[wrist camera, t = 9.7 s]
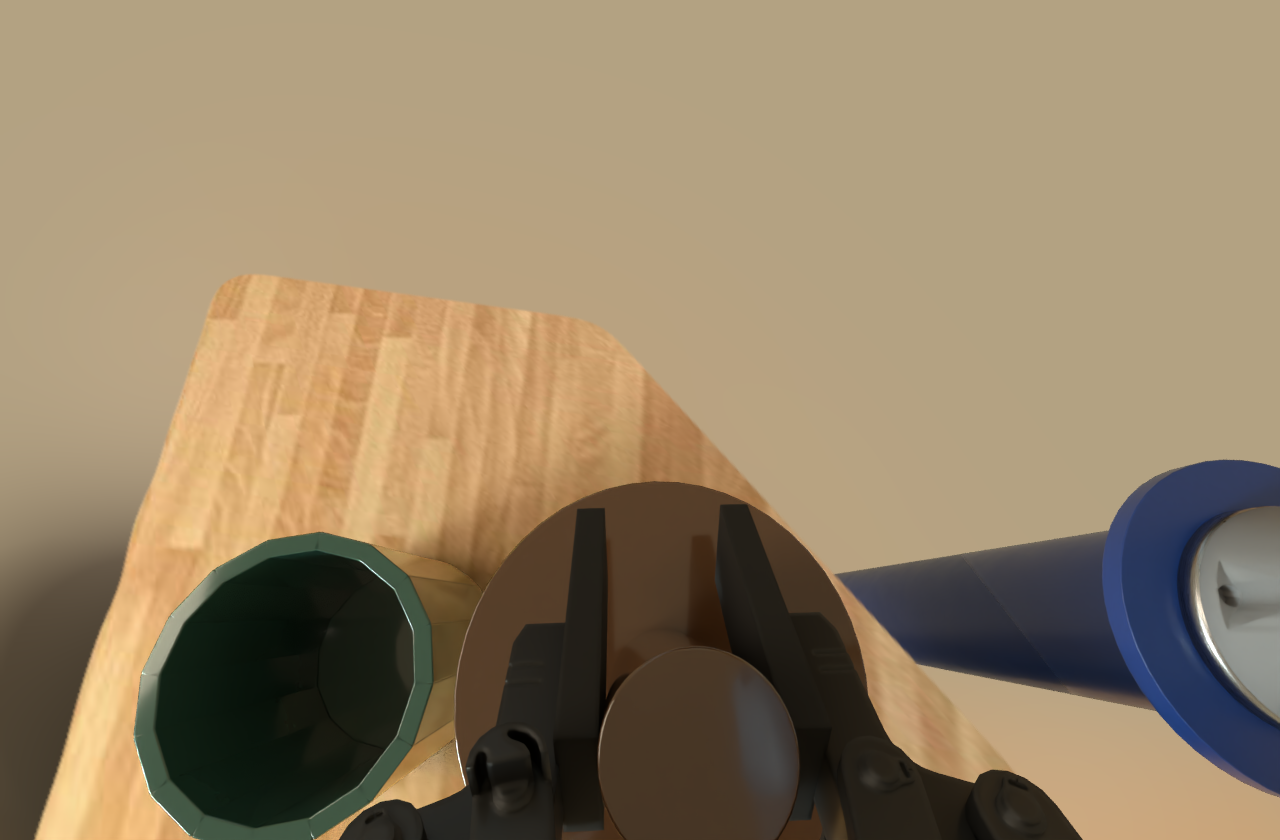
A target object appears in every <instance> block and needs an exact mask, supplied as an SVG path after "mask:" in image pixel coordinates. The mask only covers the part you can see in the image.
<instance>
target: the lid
mask: <svg viewBox="0 0 1280 840" xmlns="http://www.w3.org/2000/svg"><path fill="white" fill-rule="evenodd" d="M723 504H747V505H748V507H749V510H750V513H751V515H752V518H753V520H754V523H755V526H756V528H757V531H758V533H759V536H760V539H761V541H762V544H763V547H764V549H765V552H766V554H767V557H768V560H769V562H770V565H771V568H772V570H773V573H774V575H775V578H776V581H777V583H778V586H779V589H780V591H781V594H782V596H783V599H784V602H785V604H786V607H787V609H788V612H789V613H808V612H820V613H821V614H822V615H823V616H824V617H825V618H826V619H827V620H828V621H829V622H830V623H831V624H832V625H833V626H834V627H835V628H836V629H837V630H838V633H839V635H840V637H841V639H842V641H843V643H844V645H845V647H846V652H847V653H848V654H849V656H850V658H851V660H852V662H853V664H854V669H855V670H856V671H857V673H858V675H859V677H860V679H861V681H862V684H863V686H864V688H865V690H866V692H867V694H868V691H867V681H866V673H865V669H864V664H863V659H862V655H861V650H860V646H859V643H858V640H857V637H856V634H855V631H854V628H853V625H852V622H851V619H850V617H849V615H848V613H847V611H846V609H845V607H844V605H843V602H842V600H841V598H840V596H839V594H838V592H837V591H836V589H835V588H834V586H833V584H832V583H831V581H830V580H829V578H828V576H827V575H826V573H825V571H824V570H823V569H822V568H821V566H820V565H819V564H818V563H817V561H816V560H815V559H814V558H813V556H812V555H811V554H810V552H809V551H808V550H807V549H806V548H805V547H804V546H803V545H802V544H801V543H800V542H799V541H798V540H797V539H796V538H795V537H794V536H793V535H792V534H791V533H790V532H789V531H787V530H786V529H785V528H784V527H782V526H781V525H780V524H779V523H777V522H776V521H775V520H773V519H772V518H771V517H770V516H768V515H766V514H765V513H763V512H761V511H760V510H758V509H756V508H755V507H753V506H751V505H750V504H748V503H746V502H744V501H741V500H739V499H737V498H735V497H732V496H730V495H728V494H726V493H723V492H719V491H716V490H713V489H709V488H706V487H703V486H697V485H691V484H685V483H679V482H656V481H654V482H643V483H632V484H627V485H622V486H618V487H613V488H609V489H605V490H602V491H600V492H597V493H594V494H591V495H589V496H586V497H583V498H581V499H580V500H578V501H576V502H574V503H572V504H570V505H568V506H566V507H564V508H562V509H561V510H559V511H558V512H556V513H555V514H553V515H552V516H550V517H549V518H547V519H546V520H545V521H543V522H542V523H540V524H539V525H538V526H537V527H536V528H535V529H534V530H532V531H531V532H530V533H529V534H528V535H527V536H526V537H525V538H523V539H522V540H521V541H520V543H519V544H518V545H517V546H516V547H515V548H514V549H513V550H512V552H511V553H510V554H509V555H508V556H507V557H506V558H505V560H504V561H503V562H502V564H501V565H500V567H499V568H498V570H497V571H496V573H495V574H494V575H493V577H492V578H491V580H490V581H489V583H488V585H487V587H486V588H485V590H484V592H483V594H482V596H481V598H480V600H479V602H478V604H477V606H476V608H475V610H474V613H473V616H472V618H471V621H470V623H469V626H468V629H467V631H466V634H465V638H464V642H463V646H462V650H461V654H460V658H459V662H458V668H457V676H456V684H455V691H454V728H455V737H456V746H457V755H458V759H459V763H460V767H461V772H462V776H463V780H464V784H465V787H466V786H467V785H469V782H468V777H467V773H466V769H465V767H466V763H467V759H468V756H469V752H470V751H471V749H472V748H473V746H474V745H475V743H476V742H477V740H478V739H479V738H480V737H481V736H482V735H484V734H485V733H486V732H487V731H489V730H490V729H491V728H493V727H495V726H496V722H497V718H498V713H499V708H500V703H501V698H502V694H503V689H504V685H505V679H506V675H507V670H508V668H509V660H510V655H511V651H512V646H513V642H514V641H515V639H516V638H517V636H518V635H519V634H520V632H521V631H522V629H523V628H524V626H525V625H526V624H540V623H565V619H566V610H567V601H568V591H569V582H570V572H571V563H572V554H573V544H574V535H575V526H576V516H577V509H585V508H605V524H606V549H607V574H608V610H607V673H606V703H605V708H604V713H603V718H602V723H601V727H600V733H599V739H598V745H597V774H598V781H599V787H600V792H601V795H602V799H603V802H604V830H599V831H579V832H564V831H563V829H562V840H820V838H821V834H822V830H823V828H822V825H821V822H820V818H819V815H818V812H817V809H816V806H815V805H814V809H813V813H812V818H811V820H799V821H789V819H790V817H791V814H792V812H793V809H794V806H795V802H796V799H797V794H798V789H799V783H800V751H799V745H798V739H797V735H796V731H795V728H794V724H793V721H792V719H791V716H790V714H789V711H788V709H787V707H786V705H785V704H784V702H783V700H782V698H781V696H780V695H779V693H778V692H777V691H776V689H775V688H774V686H773V685H772V684H771V683H770V682H769V681H768V679H767V678H766V677H765V676H764V675H763V674H762V673H761V672H760V671H758V670H757V669H756V668H755V667H754V666H752V665H751V664H750V663H748V662H746V661H745V660H743V659H742V658H740V657H738V656H736V655H734V654H732V651H731V647H730V643H729V639H728V634H727V630H726V626H725V622H724V617H723V613H722V609H721V605H720V600H719V596H718V592H717V588H716V583H715V569H716V555H717V541H718V527H719V513H720V505H723Z"/></svg>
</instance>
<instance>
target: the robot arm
mask: <svg viewBox="0 0 1280 840" xmlns="http://www.w3.org/2000/svg"><path fill="white" fill-rule="evenodd" d="M715 583H716V588H717V592H718V596H719V600H720V605H721V609H722V613H723V617H724V622H725V626H726V630H727V634H728V639H729V643H730V647H731V651H732V654H734V655H736V656H738V657H740V658H742V659H743V660H745V661H746V662H748V663H750V664H751V665H752V666H754V667H755V668H756V669H757V670H758V671H760V672H761V673H762V674H763V675H764V676H765V677H766V678H767V679H768V681H769V682H770V683H771V684H772V685H773V686H774V688H775V689H776V691H777V692H778V693H779V695H780V696H781V698H782V700H783V702H784V704H785V705H786V707H787V709H788V711H789V714H790V716H791V719H792V721H793V724H794V728H795V731H796V735H797V739H798V745H799V751H800V783H799V789H798V794H797V799H796V802H795V806H794V809H793V812H792V814H791V817H790V819H789V821H799V820H811V818H812V813H813V809H814V805H815V806H816V809H817V812H818V815H819V818H820V822H821V825H822V828H823V830H822V834H821V838H820V840H1082V838H1081V837H1080V836H1079V834H1078V833H1077V832H1076V830H1075V829H1074V828H1073V826H1072V825H1071V824H1070V822H1069V821H1068V820H1067V818H1066V817H1065V816H1064V815H1063V813H1062V812H1061V810H1060V809H1059V808H1058V806H1057V805H1056V804H1055V803H1054V802H1053V801H1052V800H1051V799H1050V798H1049V797H1048V796H1047V795H1046V794H1045V792H1044V791H1043V790H1041V789H1040V788H1039V787H1037V786H1035V785H1034V784H1033V783H1031V782H1030V781H1028V780H1027V779H1025V778H1024V777H1021V776H1019V775H1016V774H1014V773H1011V772H1009V771H1002V770H990V771H987V772H985V773H982V774H980V775H979V777H978V779H977V780H976V782H975V783H971V782H968V781H964V780H961V779H957V778H953V777H950V776H946V775H943V774H939V773H936V772H933V771H930V770H928V769H925V768H923V767H921V766H919V765H918V764H916V763H914V762H913V761H912V760H911V759H910V758H909V757H908V756H907V755H906V754H905V753H904V752H903V751H902V750H901V749H900V748H899V747H897V746H895V745H894V744H893V743H892V742H891V740H890V739H889V737H888V735H887V734H886V732H885V730H884V728H883V726H882V724H881V722H880V720H879V718H878V715H877V713H876V711H875V709H874V707H873V705H872V703H871V701H870V698H869V696H868V694H867V692H866V690H865V688H864V686H863V684H862V681H861V679H860V677H859V675H858V673H857V671H856V670H855V669H854V664H853V662H852V660H851V658H850V656H849V654H848V653H847V652H846V647H845V645H844V643H843V641H842V639H841V637H840V635H839V633H838V630H837V629H836V628H835V627H834V626H833V625H832V624H831V623H830V622H829V621H828V620H827V619H826V618H825V617H824V616H823V615H822V614H821V613H820V612H808V613H789V612H788V609H787V607H786V604H785V602H784V599H783V596H782V594H781V591H780V589H779V586H778V583H777V581H776V578H775V575H774V573H773V570H772V568H771V565H770V562H769V560H768V557H767V554H766V552H765V549H764V547H763V544H762V541H761V539H760V536H759V533H758V531H757V528H756V526H755V523H754V520H753V518H752V515H751V513H750V510H749V507H748V505H747V504H723V505H720V513H719V527H718V541H717V555H716V569H715ZM1177 590H1178V599H1179V605H1180V610H1181V614H1182V617H1183V620H1184V623H1185V627H1186V629H1187V631H1188V634H1189V636H1190V639H1191V641H1192V643H1193V645H1194V647H1195V649H1196V650H1197V652H1198V654H1199V655H1200V657H1201V659H1202V660H1203V662H1204V663H1205V665H1206V666H1207V668H1208V669H1209V671H1210V672H1211V673H1212V674H1213V676H1214V677H1215V678H1216V679H1217V681H1218V682H1219V683H1220V684H1221V685H1222V686H1223V687H1224V688H1225V690H1226V691H1227V692H1228V693H1229V694H1230V695H1231V696H1232V697H1233V698H1235V699H1236V700H1237V701H1238V702H1239V703H1240V704H1241V705H1242V706H1244V707H1245V708H1246V709H1247V710H1249V711H1250V712H1251V713H1253V714H1254V715H1256V716H1257V717H1258V718H1260V719H1261V720H1263V721H1265V722H1266V723H1268V724H1270V725H1271V726H1273V727H1275V728H1277V729H1279V730H1280V506H1264V507H1255V508H1249V509H1243V510H1236V511H1231V512H1227V513H1223V514H1221V515H1218V516H1216V517H1214V518H1212V519H1210V520H1208V521H1207V522H1205V523H1204V524H1202V525H1201V526H1200V527H1199V528H1198V529H1197V530H1196V531H1195V532H1194V533H1193V535H1192V536H1191V537H1190V539H1189V540H1188V542H1187V544H1186V545H1185V548H1184V550H1183V552H1182V555H1181V558H1180V562H1179V567H1178V576H1177ZM607 610H608V574H607V549H606V524H605V508H585V509H577V516H576V526H575V535H574V544H573V554H572V563H571V572H570V582H569V591H568V601H567V610H566V619H565V623H540V624H526V625H525V626H524V628H523V629H522V631H521V632H520V634H519V635H518V636H517V638H516V639H515V641H514V642H513V646H512V651H511V655H510V660H509V668H508V670H507V675H506V679H505V685H504V689H503V694H502V698H501V703H500V708H499V713H498V718H497V722H496V726H495V727H493V728H491V729H490V730H489V731H487V732H486V733H485V734H484V735H482V736H481V737H480V738H479V739H478V740H477V742H476V743H475V745H474V746H473V748H472V749H471V751H470V752H469V756H468V759H467V763H466V767H465V769H466V773H467V777H468V782H469V785H467V786H466V787H465V788H464V789H462V790H461V791H459V792H457V793H455V794H453V795H452V796H450V797H447V798H445V799H442V800H440V801H437V802H435V803H432V804H430V805H427V806H424V807H422V808H419V809H416V808H415V807H414V806H413V805H412V804H411V803H409V802H405V801H401V800H398V799H396V800H389V801H383V802H380V803H378V804H376V805H374V806H372V807H370V808H368V809H366V810H364V811H363V812H362V813H361V814H360V815H359V816H358V817H357V818H355V819H354V820H353V821H352V822H351V823H350V824H349V825H348V826H347V828H346V830H345V831H344V833H343V834H342V836H341V837H340V839H339V840H562V829H563V831H564V832H579V831H599V830H604V802H603V799H602V795H601V792H600V787H599V781H598V774H597V745H598V739H599V733H600V727H601V723H602V718H603V713H604V708H605V703H606V673H607Z"/></svg>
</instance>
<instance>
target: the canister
mask: <svg viewBox="0 0 1280 840" xmlns="http://www.w3.org/2000/svg"><path fill="white" fill-rule="evenodd" d="M482 594H483V592H482V590H481V589H480V587H479V586H478V585H477V584H476V583H475V582H474V581H473V580H472V579H471V578H470V577H468V576H467V575H466V574H465V573H463V572H462V571H460V570H459V569H457V568H456V567H455V566H453V565H451V564H449V563H445V562H441V561H437V560H433V559H429V558H425V557H421V556H417V555H413V554H409V553H405V552H401V551H397V550H393V549H389V548H385V547H381V546H377V545H373V544H369V543H365V542H361V541H357V540H353V539H349V538H345V537H341V536H336V535H332V534H328V533H324V532H316V533H309V534H303V535H297V536H290V537H284V538H277V539H271V540H267V541H265V542H263V543H261V544H259V545H258V546H256V547H254V548H252V549H250V550H248V551H247V552H245V553H243V554H241V555H239V556H237V557H236V558H234V559H232V560H230V561H228V562H226V563H224V564H223V565H221V566H219V567H217V568H216V569H215V570H213V571H212V572H211V573H210V574H209V575H208V576H207V577H206V578H205V579H204V580H203V581H202V582H201V583H200V584H199V585H198V586H197V587H196V588H195V589H194V590H193V592H192V593H191V594H190V595H189V596H188V597H187V598H186V599H185V600H184V601H183V602H182V603H181V604H180V605H179V606H178V607H177V608H176V609H175V610H174V611H173V612H172V613H171V616H169V618H168V620H167V622H166V624H165V626H164V628H163V630H162V632H161V634H160V636H159V638H158V640H157V642H156V644H155V646H154V648H153V650H152V652H151V654H150V656H149V658H148V661H147V663H146V665H145V667H144V669H143V671H142V675H141V678H140V687H139V695H138V703H137V711H136V720H135V728H134V742H135V745H136V749H137V752H138V756H139V759H140V763H141V766H142V770H143V773H144V776H145V780H146V783H147V787H148V790H149V794H150V795H151V797H152V798H153V799H154V800H155V801H156V802H157V803H158V804H159V805H160V806H161V807H162V808H163V809H164V810H165V811H166V813H167V814H168V815H169V816H170V817H171V818H172V819H173V820H174V821H175V822H176V823H177V824H178V825H179V826H180V827H181V828H182V829H183V830H184V831H185V832H186V833H187V834H188V835H189V836H192V837H193V838H196V839H200V840H314V839H317V838H318V837H320V836H321V835H323V834H324V833H326V832H327V831H329V830H330V829H332V828H333V827H335V826H336V825H338V824H339V823H341V822H342V821H344V820H345V819H347V818H348V817H350V816H351V815H353V814H354V813H356V812H357V811H359V810H360V809H362V808H363V807H365V806H366V805H368V804H369V803H371V802H372V801H373V800H375V799H376V798H377V797H379V796H380V795H381V794H382V793H384V792H385V791H386V790H388V789H389V788H390V787H392V786H393V785H394V784H396V783H397V782H398V781H399V780H401V779H402V778H403V777H405V776H406V775H407V774H409V773H410V772H411V771H412V770H414V769H415V768H416V767H418V766H419V765H420V764H422V763H423V762H424V761H425V760H427V759H428V758H429V757H431V756H432V755H433V754H435V753H436V752H437V751H438V750H440V749H441V748H442V747H444V746H445V745H446V744H448V743H449V742H450V741H451V740H453V739H454V738H455V728H454V691H455V684H456V676H457V668H458V662H459V658H460V654H461V650H462V646H463V642H464V638H465V634H466V631H467V629H468V626H469V623H470V621H471V618H472V616H473V613H474V610H475V608H476V606H477V604H478V602H479V600H480V598H481V596H482Z"/></svg>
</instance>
